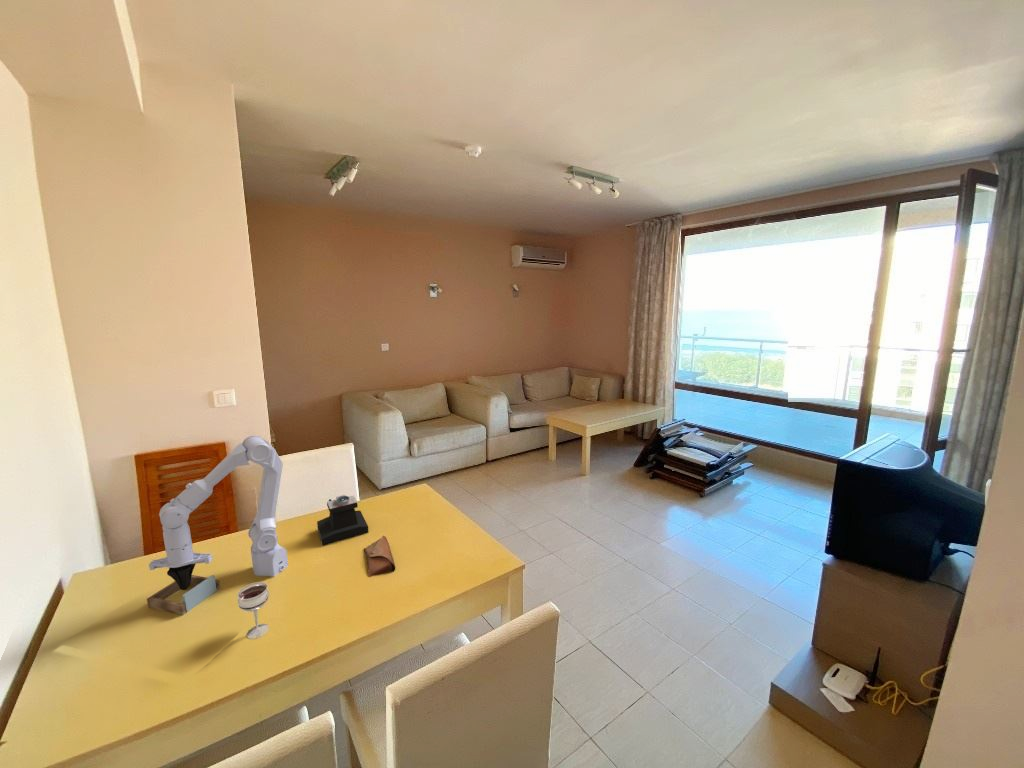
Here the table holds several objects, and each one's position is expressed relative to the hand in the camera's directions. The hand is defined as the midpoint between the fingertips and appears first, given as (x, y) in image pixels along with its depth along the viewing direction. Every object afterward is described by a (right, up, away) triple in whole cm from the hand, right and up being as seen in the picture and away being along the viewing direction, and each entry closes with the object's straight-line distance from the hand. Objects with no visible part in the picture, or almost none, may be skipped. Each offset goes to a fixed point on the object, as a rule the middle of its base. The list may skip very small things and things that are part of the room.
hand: (185, 587), depth 116 cm
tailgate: (+5, -4, -1) cm, 6 cm away
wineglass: (+27, -7, -10) cm, 29 cm away
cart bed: (-1, -4, +1) cm, 5 cm away
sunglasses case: (+48, -2, +21) cm, 53 cm away
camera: (+28, +2, +39) cm, 48 cm away
